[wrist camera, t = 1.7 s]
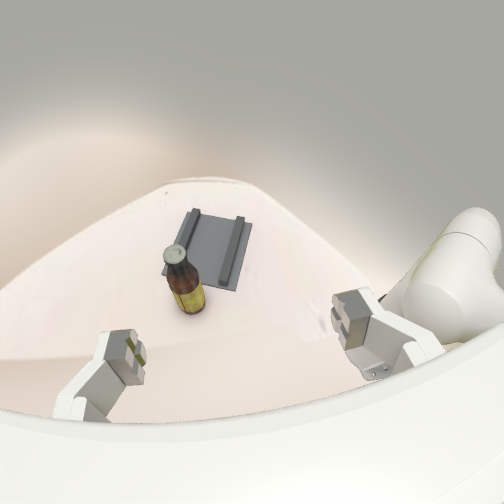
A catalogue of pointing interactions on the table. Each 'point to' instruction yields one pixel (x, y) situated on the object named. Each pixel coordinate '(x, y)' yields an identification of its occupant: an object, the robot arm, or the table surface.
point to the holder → (214, 247)
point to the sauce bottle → (183, 280)
